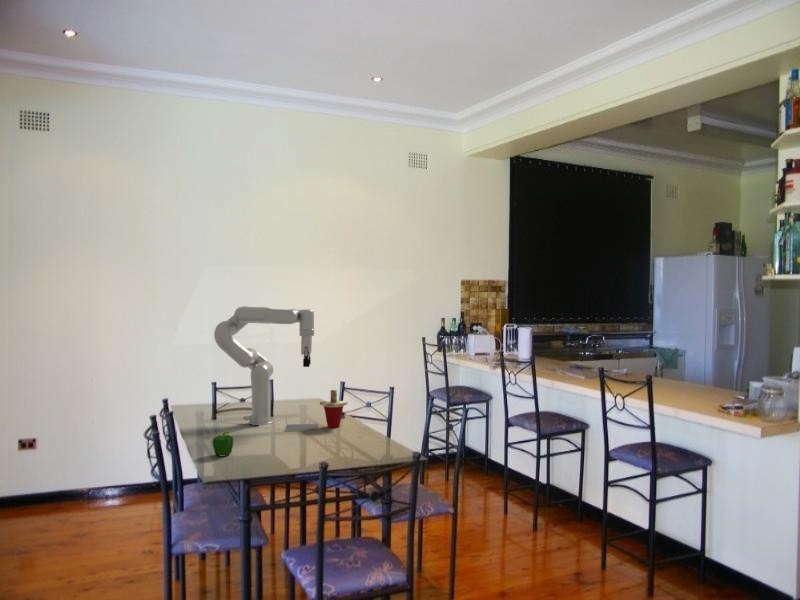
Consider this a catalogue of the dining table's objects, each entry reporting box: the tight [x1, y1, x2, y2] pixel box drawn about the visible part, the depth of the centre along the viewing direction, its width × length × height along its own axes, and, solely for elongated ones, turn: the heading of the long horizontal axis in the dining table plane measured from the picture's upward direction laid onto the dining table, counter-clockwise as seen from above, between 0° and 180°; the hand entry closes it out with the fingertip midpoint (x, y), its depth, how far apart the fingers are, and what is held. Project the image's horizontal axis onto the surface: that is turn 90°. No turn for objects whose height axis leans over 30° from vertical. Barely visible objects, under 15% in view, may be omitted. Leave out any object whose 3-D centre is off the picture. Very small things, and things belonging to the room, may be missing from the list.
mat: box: [283, 423, 319, 433], centre depth 304 cm, size 16×16×1 cm
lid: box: [319, 389, 348, 407], centre depth 307 cm, size 14×14×7 cm
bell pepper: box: [212, 430, 234, 456], centre depth 256 cm, size 8×8×10 cm
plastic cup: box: [322, 405, 345, 429], centre depth 307 cm, size 11×11×12 cm
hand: (306, 365), depth 317 cm, fingers open, 9 cm apart
